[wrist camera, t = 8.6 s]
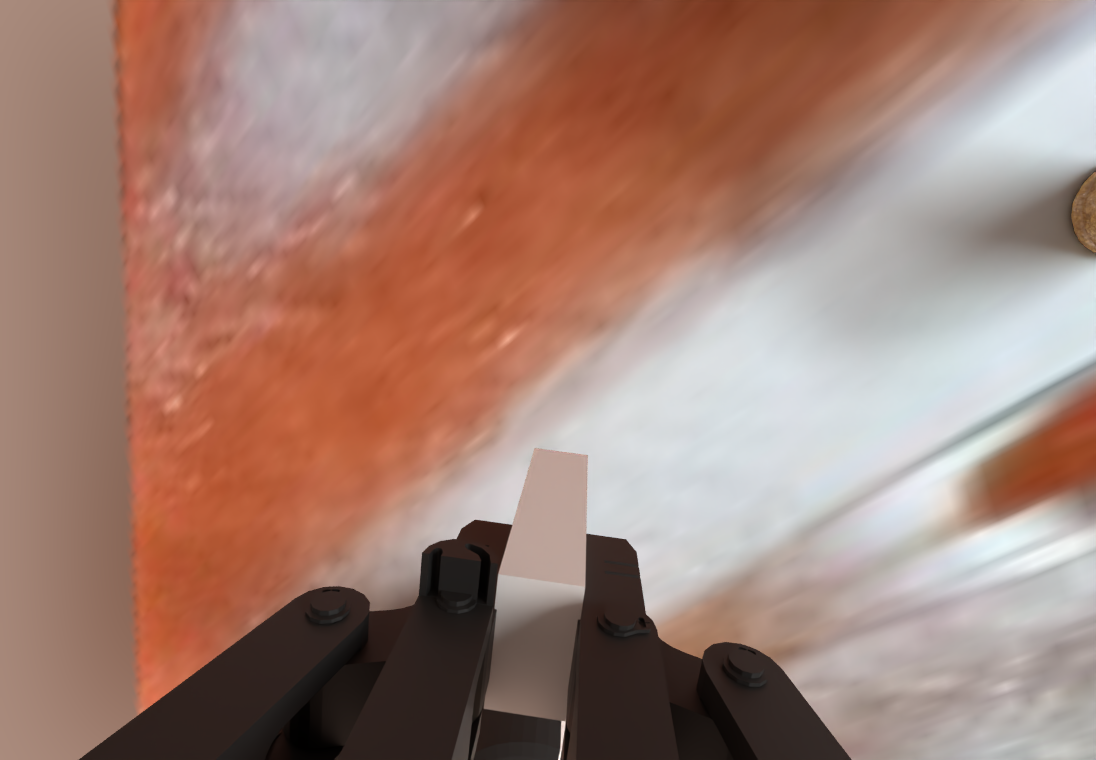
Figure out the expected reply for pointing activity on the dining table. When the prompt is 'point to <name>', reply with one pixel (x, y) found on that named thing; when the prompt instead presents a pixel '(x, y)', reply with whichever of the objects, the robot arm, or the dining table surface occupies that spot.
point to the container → (518, 737)
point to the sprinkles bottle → (1085, 213)
